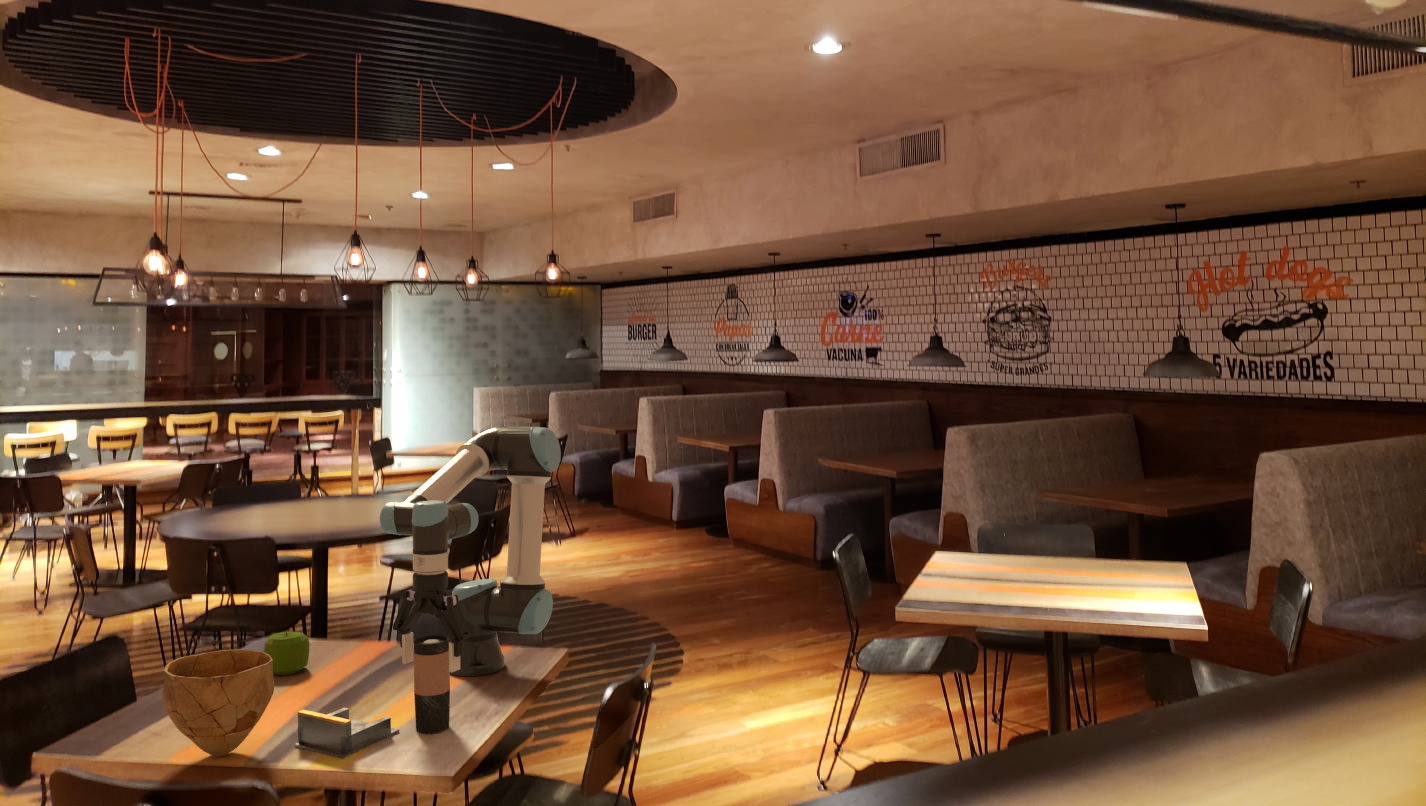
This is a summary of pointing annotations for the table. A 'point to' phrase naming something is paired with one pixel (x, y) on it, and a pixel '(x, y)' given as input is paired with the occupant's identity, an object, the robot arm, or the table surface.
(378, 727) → the grey holder
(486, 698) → the table surface
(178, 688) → the bowl
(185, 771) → the table surface
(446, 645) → the travel mug
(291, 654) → the apple
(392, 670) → the table surface
